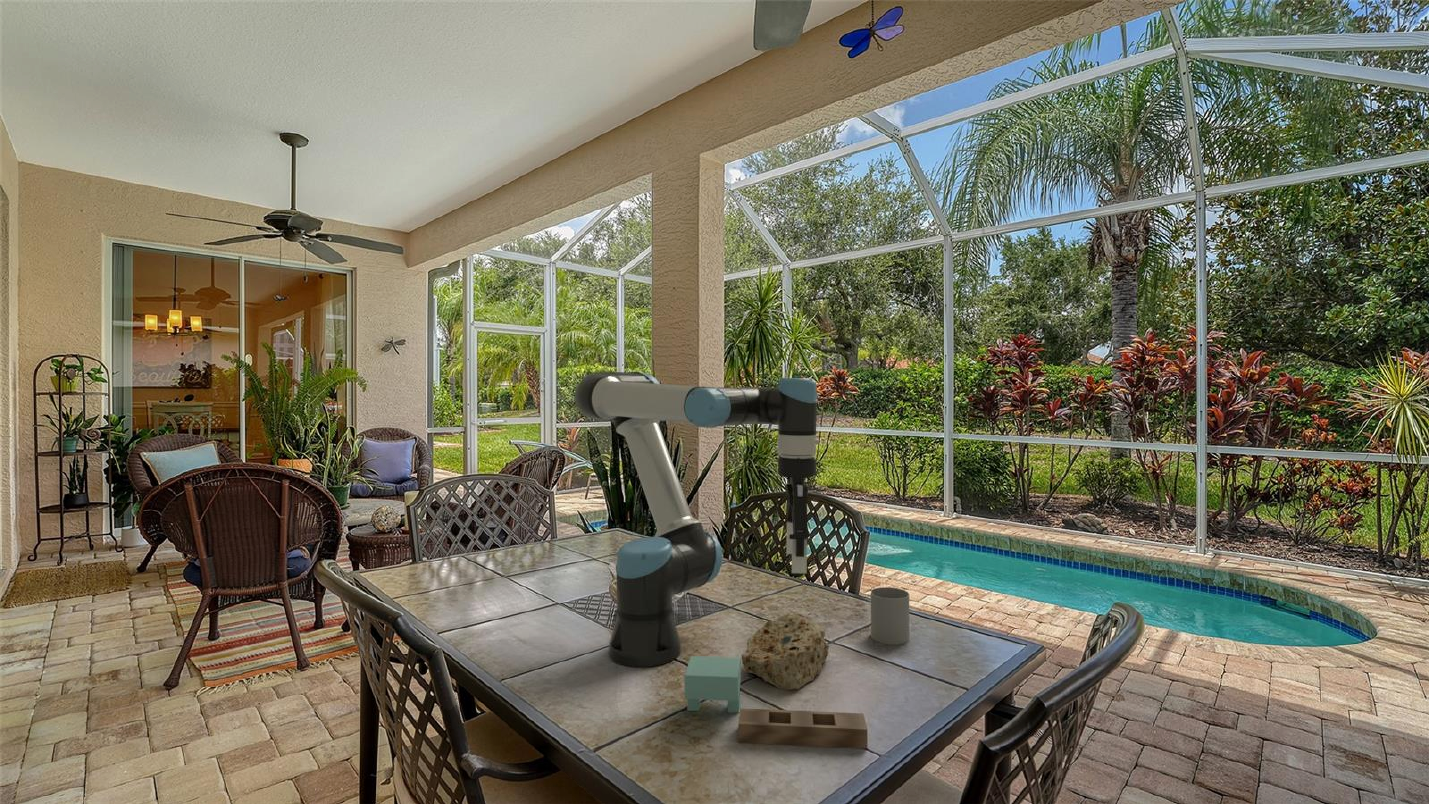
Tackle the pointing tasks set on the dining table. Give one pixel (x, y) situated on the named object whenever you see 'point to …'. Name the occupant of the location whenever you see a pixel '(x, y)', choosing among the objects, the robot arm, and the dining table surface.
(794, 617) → the rock
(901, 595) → the cup
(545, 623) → the dining table surface
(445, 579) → the dining table surface
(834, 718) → the rail
